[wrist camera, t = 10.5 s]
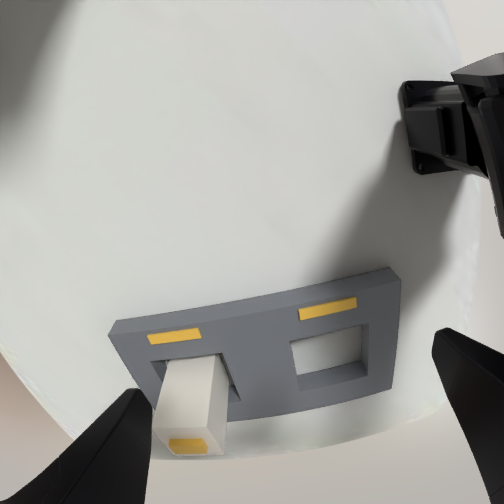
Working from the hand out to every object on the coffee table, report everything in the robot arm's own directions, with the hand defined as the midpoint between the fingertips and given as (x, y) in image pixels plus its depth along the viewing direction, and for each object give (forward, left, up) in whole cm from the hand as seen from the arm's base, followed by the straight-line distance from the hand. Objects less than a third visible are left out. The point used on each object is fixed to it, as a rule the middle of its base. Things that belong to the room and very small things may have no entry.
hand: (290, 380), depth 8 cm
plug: (+8, +11, -13) cm, 19 cm away
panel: (+2, +11, -13) cm, 17 cm away
